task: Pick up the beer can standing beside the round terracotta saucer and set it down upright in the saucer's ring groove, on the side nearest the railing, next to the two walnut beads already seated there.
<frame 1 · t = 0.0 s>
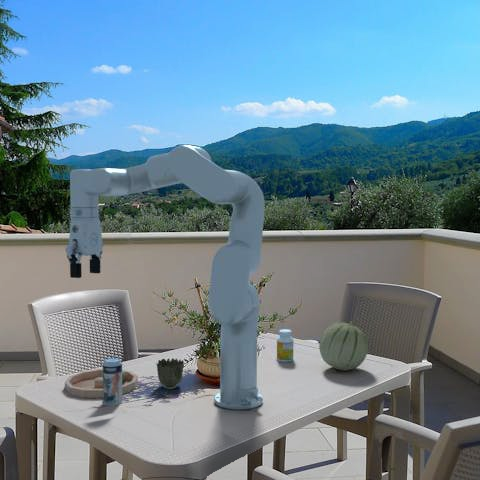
hand: (85, 275, 170), 31 cm above the table, tool pointing down, fingers open, 9 cm apart
cup: (170, 390, 168), on the table
bead a: (111, 380, 173), point 1 cm above the table, touching saucer
cantaloupe: (343, 370, 188), on the table
saucer: (102, 389, 168), on the table
beer can: (112, 406, 155), on the table
bead b: (120, 383, 170), point 1 cm above the table, touching saucer
supplement bottle: (285, 360, 199), on the table
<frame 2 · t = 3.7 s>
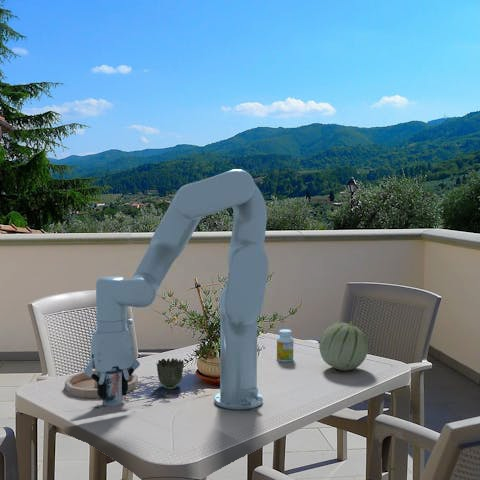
hand: (112, 395, 155), 3 cm above the table, tool pointing down, fingers closed on beer can, 4 cm apart
beer can: (112, 406, 155), on the table, touching gripper
everything else where it was.
when the fingers open (5 cm above the table, at t = 9.1 s): beer can stays where it is, resting on saucer.
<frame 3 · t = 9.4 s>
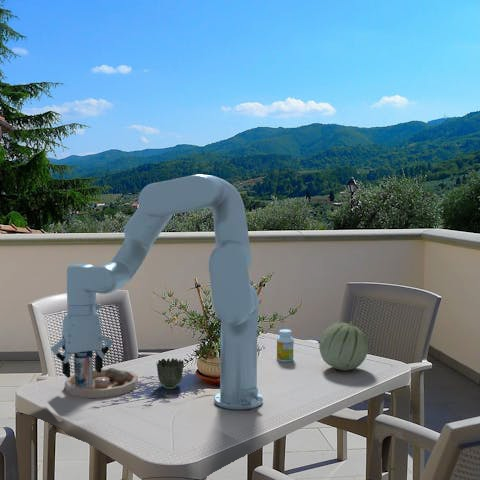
hand: (82, 373, 165), 5 cm above the table, tool pointing down, fingers open, 8 cm apart
beer can: (84, 389, 165), point 1 cm above the table, touching saucer
everything else where it was.
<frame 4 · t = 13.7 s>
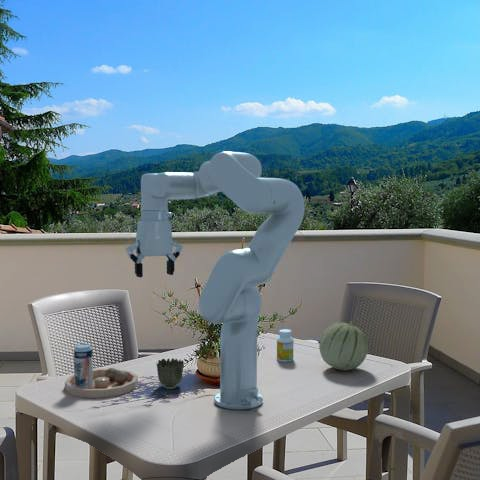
hand: (154, 275, 176), 30 cm above the table, tool pointing down, fingers open, 9 cm apart
nothing on the table moved.
at the end: beer can 0.4 cm from the target spot on the saucer, point 0.8 cm above the saucer's base; beer can tilted 0°; the gripper is holding nothing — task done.
